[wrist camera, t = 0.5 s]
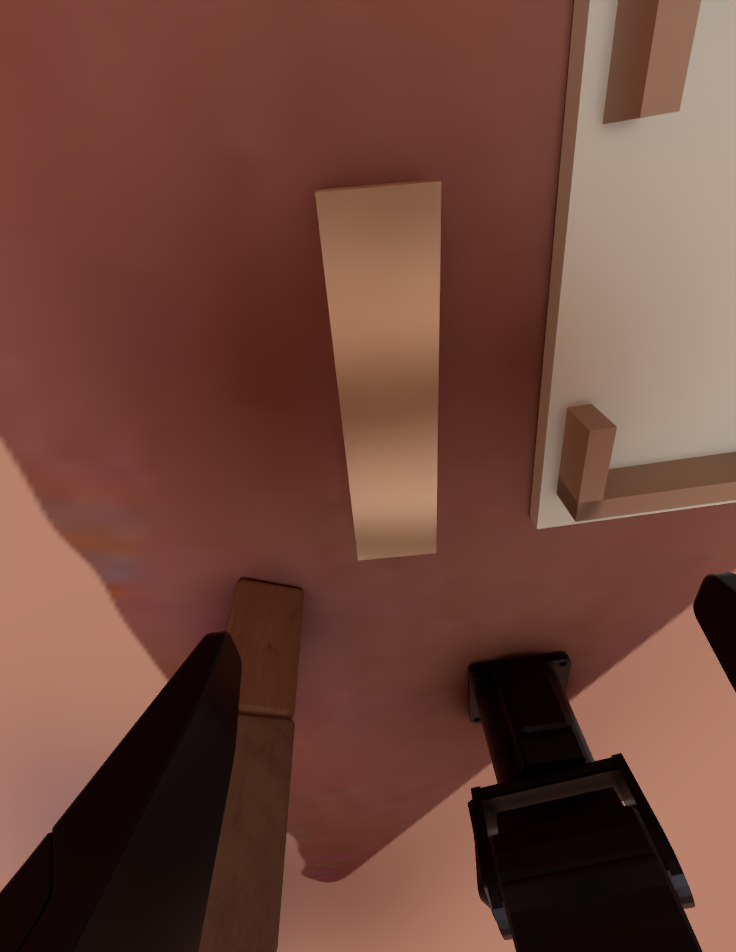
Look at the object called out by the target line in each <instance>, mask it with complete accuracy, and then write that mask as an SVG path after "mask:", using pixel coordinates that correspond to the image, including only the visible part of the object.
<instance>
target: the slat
mask: <svg viewBox="0 0 736 952" xmlns="http://www.w3.org/2000/svg"><path fill="white" fill-rule="evenodd" d="M315 197H316V206H317V214H318V223H319V231H320V240H321V248H322V257H323V266H324V274H325V283H326V291H327V300H328V308H329V317H330V325H331V334H332V342H333V351H334V359H335V368H336V376H337V385H338V393H339V402H340V410H341V419H342V428H343V436H344V445H345V453H346V462H347V470H348V479H349V487H350V496H351V504H352V513H353V521H354V530H355V538H356V547H357V555H358V560H368V559H379V558H390V557H401V556H411V555H422V554H433V553H436V525H437V456H438V387H439V318H440V249H441V181H435V180H416V181H405V182H393V183H382V184H371V185H359V186H348V187H337V188H325V189H318V190H317V191H316V192H315Z"/></svg>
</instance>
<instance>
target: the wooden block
mask: <svg viewBox="0 0 736 952" xmlns="http://www.w3.org/2000/svg"><path fill="white" fill-rule="evenodd" d="M303 599H304V596H303V592H302V590H300V589H297V588H291V587H286V586H280V585H274V584H269V583H263V582H257V581H252V580H246V579H244V580H241V581H240V582H239V583H238V584H237V587H236V591H235V595H234V599H233V604H232V608H231V612H230V616H229V620H228V624H227V628H226V631H227V632H229V633H230V634H231V636H232V638H233V641H234V643H235V645H236V647H237V650H238V652H239V654H240V657H241V662H242V673H241V686H240V699H239V712H238V725H237V738H236V748H235V756H234V762H233V768H232V773H231V779H230V784H229V790H228V795H227V801H226V806H225V812H224V817H223V822H222V828H221V833H220V839H219V844H218V850H217V855H216V861H215V866H214V871H213V877H212V882H211V888H210V893H209V899H208V904H207V910H206V915H205V920H204V926H203V931H202V937H201V942H200V948H199V952H276V951H277V947H278V934H279V921H280V908H281V895H282V883H283V869H284V857H285V844H286V831H287V818H288V805H289V793H290V780H291V767H292V754H293V741H294V728H295V724H294V721H292V718H293V716H294V712H295V700H296V687H297V674H298V662H299V649H300V636H301V624H302V611H303Z"/></svg>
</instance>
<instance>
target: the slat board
mask: <svg viewBox="0 0 736 952" xmlns="http://www.w3.org/2000/svg"><path fill="white" fill-rule="evenodd" d="M733 502H736V0H574V10H573V22H572V33H571V45H570V56H569V68H568V79H567V91H566V102H565V114H564V126H563V137H562V149H561V160H560V172H559V183H558V195H557V206H556V218H555V229H554V241H553V253H552V264H551V276H550V287H549V299H548V310H547V322H546V333H545V345H544V357H543V368H542V380H541V391H540V403H539V414H538V426H537V437H536V449H535V460H534V472H533V484H532V495H531V507H530V518H531V520H532V521H533V523H534V525H535V527H536V528H537V529H542V528H549V527H557V526H564V525H571V524H579V523H586V522H593V521H601V520H608V519H615V518H623V517H630V516H637V515H645V514H652V513H660V512H667V511H674V510H682V509H689V508H696V507H704V506H711V505H718V504H726V503H733Z"/></svg>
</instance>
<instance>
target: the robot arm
mask: <svg viewBox="0 0 736 952" xmlns="http://www.w3.org/2000/svg"><path fill="white" fill-rule="evenodd" d="M693 609H694V613H695V616H696V619H697V620H698V622H699V624H700V626H701V628H702V630H703V632H704V634H705V635H706V637H707V639H708V641H709V643H710V645H711V647H712V649H713V651H714V653H715V654H716V656H717V658H718V660H719V662H720V664H721V665H722V668H723V670H724V671H725V673H726V675H727V677H728V679H729V681H730V683H731V685H732V686H733V688H734V690H735V692H736V574H734V573H729V572H725V573H716V574H709V575H707V576H706V577H705V578H704V579H703V581H702V584H701V586H700V588H699V591H698V593H697V596H696V598H695V601H694V604H693ZM570 665H571V661H570V659H569V657H568V655H567V654H556V655H548V656H540V657H532V658H524V659H517V660H509V661H501V662H493V663H485V664H478V665H473V666H471V667H470V668H469V669H468V689H469V718H470V721H471V722H472V723H482V725H483V729H484V733H485V737H486V741H487V745H488V748H489V752H490V756H491V760H492V764H493V768H494V771H495V775H496V779H497V782H498V784H496V785H492V786H487V787H483V788H481V787H475V788H471V793H472V800H471V801H470V802H469V803H468V807H469V812H470V817H471V822H472V827H473V833H474V840H475V854H476V869H477V884H478V892H479V896H480V899H481V900H482V901H483V902H484V903H485V904H486V905H487V906H488V907H489V908H490V909H491V910H492V913H493V916H494V918H495V920H496V921H497V924H498V927H499V930H500V932H501V934H502V937H503V938H504V939H505V940H510V939H513V941H514V945H515V948H516V952H702V950H701V947H700V945H699V943H698V941H697V938H696V936H695V934H694V932H693V929H692V927H691V925H690V923H689V920H688V918H687V916H686V914H685V911H684V909H687V908H693V907H695V903H694V899H693V896H692V893H691V891H690V888H689V885H688V883H687V880H686V878H685V876H684V873H683V871H682V869H681V866H680V864H679V862H678V860H677V857H676V855H675V853H674V851H673V849H672V847H671V845H670V843H669V841H668V839H667V837H666V835H665V833H664V831H663V829H662V827H661V826H660V823H659V822H658V820H657V818H656V816H655V814H654V812H653V811H652V809H651V807H650V805H649V803H648V801H647V800H646V798H645V796H644V794H643V792H642V790H641V789H640V787H639V785H638V783H637V781H636V779H635V778H634V776H633V774H632V772H631V770H630V768H629V767H628V765H627V763H626V761H625V759H624V757H623V755H622V754H621V753H620V754H616V755H612V757H611V758H607V759H603V760H599V761H594V759H593V757H592V754H591V752H590V750H589V747H588V745H587V743H586V740H585V738H584V736H583V734H582V732H581V729H580V727H579V724H578V722H577V720H576V718H575V715H574V713H573V711H572V708H571V706H570V704H569V701H568V699H567V697H566V695H565V691H566V686H567V680H568V675H569V670H570ZM241 673H242V662H241V657H240V654H239V652H238V650H237V647H236V645H235V643H234V641H233V638H232V636H231V634H230V633H229V632H227V631H223V632H214V633H209V634H207V635H206V636H204V637H203V639H202V640H201V641H200V642H199V644H198V645H197V646H196V647H195V649H194V650H193V651H192V652H191V654H190V655H189V656H188V658H187V659H186V660H185V661H184V663H183V664H182V665H181V666H180V668H179V669H178V670H177V671H176V673H175V674H174V675H173V676H172V678H171V679H170V680H169V681H168V683H167V684H166V685H165V687H164V688H163V689H162V690H161V692H160V693H159V694H158V695H157V697H156V698H155V699H154V700H153V702H152V703H151V704H150V706H149V707H148V708H147V709H146V711H145V712H144V713H143V714H142V716H141V717H140V718H139V719H138V721H137V722H136V723H135V724H134V726H133V727H132V728H131V729H130V731H129V732H128V733H127V735H126V736H125V737H124V738H123V740H122V741H121V742H120V743H119V745H118V746H117V747H116V748H115V750H114V751H113V752H112V753H111V755H110V756H109V757H108V758H107V760H106V761H105V762H104V764H103V765H102V766H101V767H100V769H99V770H98V771H97V772H96V774H95V775H94V776H93V777H92V779H91V780H90V781H89V782H88V784H87V785H86V786H85V787H84V789H83V790H82V791H81V792H80V794H79V795H78V796H77V798H76V799H75V800H74V801H73V803H72V804H71V805H70V806H69V808H68V809H67V810H66V811H65V813H64V814H63V815H62V816H61V818H60V819H59V820H58V821H57V823H56V824H55V825H54V827H53V829H52V833H48V834H47V835H46V836H45V838H44V839H43V840H42V841H41V843H40V844H39V845H38V847H37V848H36V849H35V850H34V851H33V853H32V854H31V855H30V857H29V858H28V859H27V860H26V861H25V863H24V864H23V865H22V866H21V868H20V869H19V870H18V871H17V872H16V874H15V875H14V876H13V878H12V879H11V880H10V881H9V882H8V884H7V885H6V886H5V887H4V888H3V890H2V891H1V892H0V952H199V948H200V942H201V937H202V931H203V926H204V920H205V915H206V910H207V904H208V899H209V893H210V888H211V882H212V877H213V871H214V866H215V861H216V855H217V850H218V844H219V839H220V833H221V828H222V822H223V817H224V812H225V806H226V801H227V795H228V790H229V784H230V779H231V773H232V768H233V762H234V756H235V748H236V738H237V725H238V712H239V699H240V686H241ZM621 801H624V803H625V806H624V805H623V804H622V802H621Z"/></svg>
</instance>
